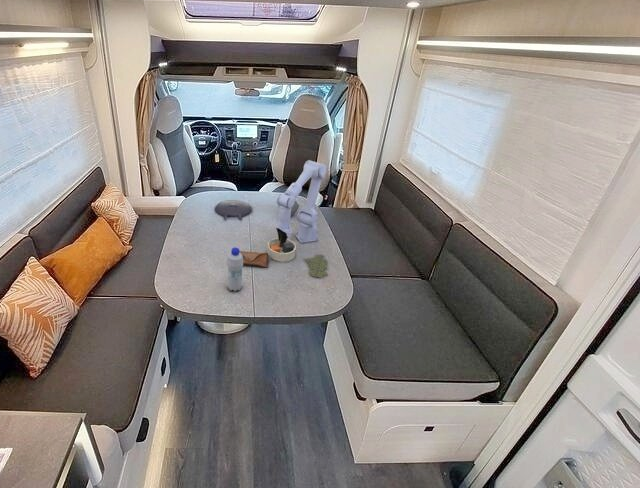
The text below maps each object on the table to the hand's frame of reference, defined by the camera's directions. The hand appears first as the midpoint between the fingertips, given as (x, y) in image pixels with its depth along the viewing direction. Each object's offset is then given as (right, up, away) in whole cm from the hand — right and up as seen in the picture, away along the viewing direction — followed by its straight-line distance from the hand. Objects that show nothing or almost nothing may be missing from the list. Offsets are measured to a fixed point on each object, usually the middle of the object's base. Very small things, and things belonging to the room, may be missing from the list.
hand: (282, 241), depth 156 cm
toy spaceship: (-25, +12, +45) cm, 53 cm away
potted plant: (+8, +10, +44) cm, 46 cm away
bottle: (-23, -16, -21) cm, 36 cm away
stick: (0, -3, +1) cm, 3 cm away
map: (+15, -11, -5) cm, 20 cm away
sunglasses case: (-16, -9, -4) cm, 19 cm away
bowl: (0, -7, +3) cm, 7 cm away
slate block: (+3, -6, +4) cm, 8 cm away
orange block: (-4, -7, +2) cm, 8 cm away
